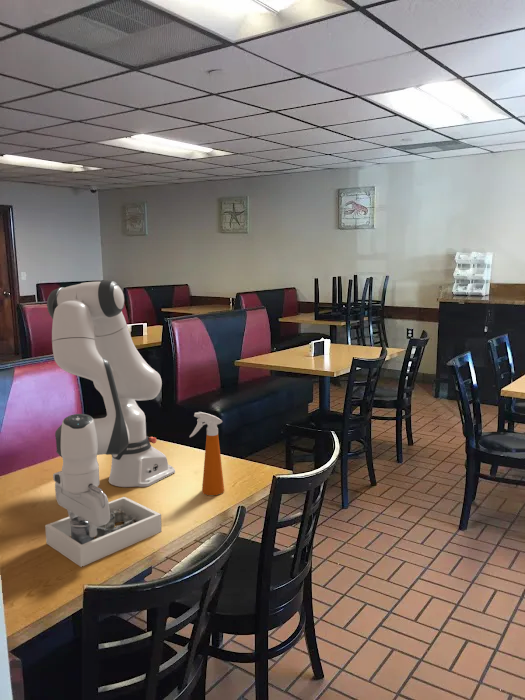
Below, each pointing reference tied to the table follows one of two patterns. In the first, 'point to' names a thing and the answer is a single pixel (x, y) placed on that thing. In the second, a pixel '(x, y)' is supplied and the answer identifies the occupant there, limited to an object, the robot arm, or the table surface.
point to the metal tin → (80, 530)
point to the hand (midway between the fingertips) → (83, 530)
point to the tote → (108, 543)
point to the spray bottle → (211, 454)
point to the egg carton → (115, 517)
